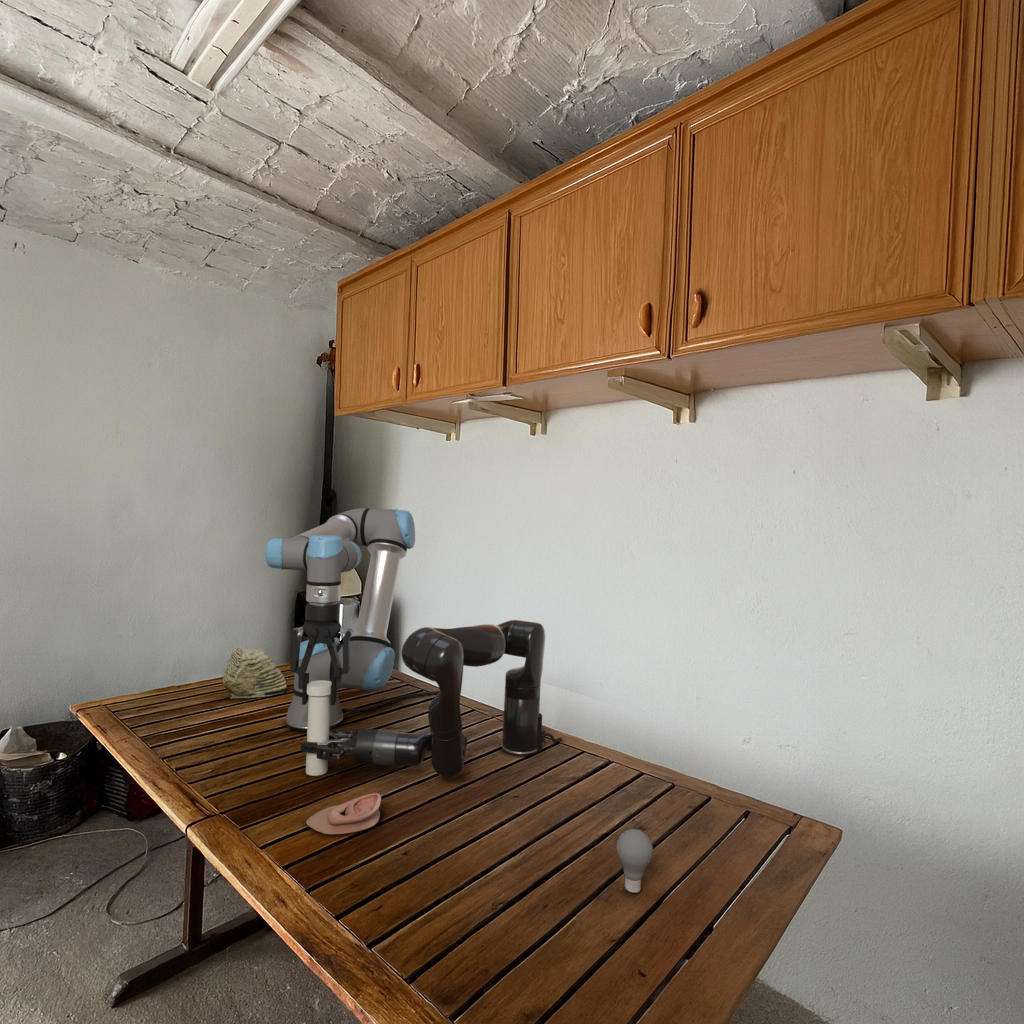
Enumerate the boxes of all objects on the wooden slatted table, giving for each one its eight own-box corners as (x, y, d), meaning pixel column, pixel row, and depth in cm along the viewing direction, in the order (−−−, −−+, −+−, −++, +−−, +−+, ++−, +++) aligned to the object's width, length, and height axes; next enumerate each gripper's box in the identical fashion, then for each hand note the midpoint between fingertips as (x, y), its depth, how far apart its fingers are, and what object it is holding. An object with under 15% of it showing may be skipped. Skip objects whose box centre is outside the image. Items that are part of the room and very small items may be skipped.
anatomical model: (298, 809, 120) (327, 783, 131) (297, 830, 120) (327, 802, 131) (363, 819, 117) (388, 791, 128) (362, 840, 117) (387, 811, 128)
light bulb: (610, 879, 108) (613, 822, 108) (644, 879, 109) (647, 822, 109) (619, 902, 102) (622, 840, 102) (655, 901, 103) (658, 840, 103)
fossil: (218, 695, 195) (220, 647, 195) (278, 685, 208) (279, 640, 207) (228, 703, 189) (230, 653, 188) (289, 692, 201) (290, 645, 201)
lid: (331, 696, 143) (331, 687, 143) (304, 696, 142) (305, 687, 142) (334, 688, 149) (334, 680, 149) (308, 689, 148) (308, 680, 148)
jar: (303, 775, 143) (306, 689, 143) (308, 766, 148) (311, 683, 148) (325, 775, 144) (328, 689, 143) (329, 766, 149) (332, 683, 148)
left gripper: (276, 604, 141) (272, 707, 141) (361, 606, 142) (357, 709, 143) (286, 598, 148) (282, 697, 149) (366, 601, 150) (363, 698, 150)
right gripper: (387, 720, 152) (318, 715, 153) (370, 742, 138) (294, 737, 139) (386, 751, 152) (317, 746, 153) (368, 777, 138) (292, 771, 139)
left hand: (319, 702), depth 146 cm, fingers closed on lid, 6 cm apart
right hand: (306, 742), depth 146 cm, fingers closed on jar, 5 cm apart
